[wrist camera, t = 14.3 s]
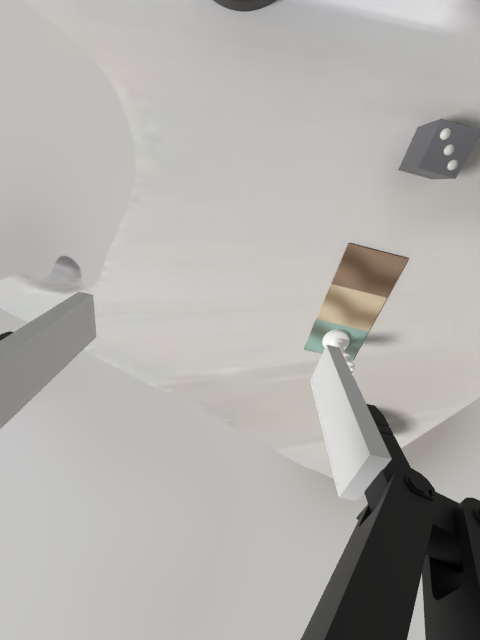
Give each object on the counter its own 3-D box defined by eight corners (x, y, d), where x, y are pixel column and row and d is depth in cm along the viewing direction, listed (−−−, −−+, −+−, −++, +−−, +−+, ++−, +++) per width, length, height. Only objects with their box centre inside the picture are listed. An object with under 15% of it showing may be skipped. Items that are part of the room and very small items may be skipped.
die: (418, 127, 34) (442, 118, 30) (454, 137, 34) (483, 130, 30) (398, 169, 37) (418, 168, 32) (432, 179, 37) (456, 178, 32)
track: (348, 243, 42) (349, 243, 41) (407, 258, 42) (408, 258, 42) (303, 348, 51) (304, 349, 51) (351, 360, 52) (352, 360, 52)
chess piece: (350, 329, 48) (371, 361, 40) (347, 351, 51) (365, 386, 42) (323, 329, 49) (337, 361, 40) (321, 351, 51) (334, 386, 42)
